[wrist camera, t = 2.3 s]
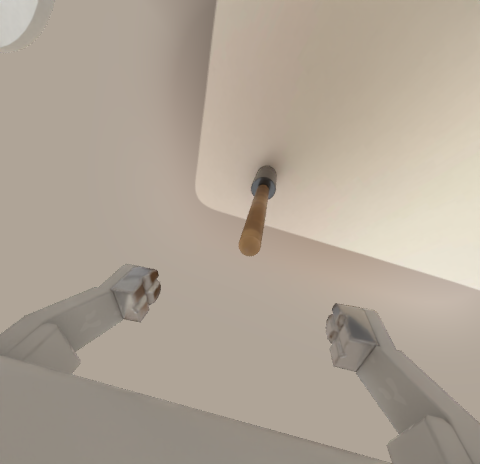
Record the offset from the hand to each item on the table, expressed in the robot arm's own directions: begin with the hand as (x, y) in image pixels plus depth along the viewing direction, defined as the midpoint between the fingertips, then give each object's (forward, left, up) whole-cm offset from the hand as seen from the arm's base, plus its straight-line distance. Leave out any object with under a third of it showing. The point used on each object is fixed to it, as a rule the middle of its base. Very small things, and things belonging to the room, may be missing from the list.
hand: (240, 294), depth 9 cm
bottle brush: (0, 0, -22) cm, 22 cm away
